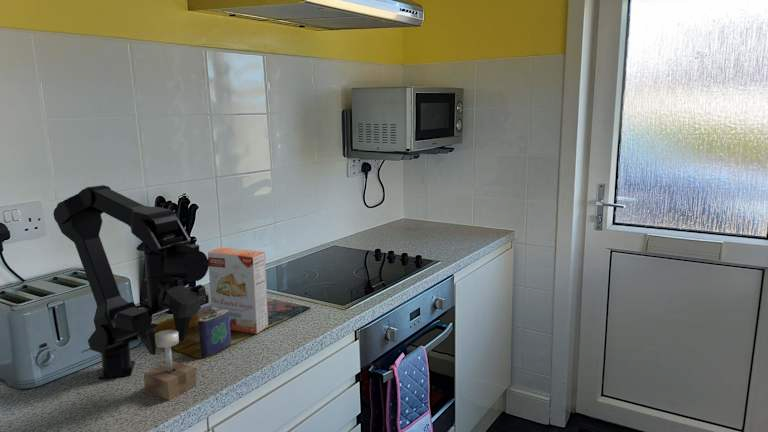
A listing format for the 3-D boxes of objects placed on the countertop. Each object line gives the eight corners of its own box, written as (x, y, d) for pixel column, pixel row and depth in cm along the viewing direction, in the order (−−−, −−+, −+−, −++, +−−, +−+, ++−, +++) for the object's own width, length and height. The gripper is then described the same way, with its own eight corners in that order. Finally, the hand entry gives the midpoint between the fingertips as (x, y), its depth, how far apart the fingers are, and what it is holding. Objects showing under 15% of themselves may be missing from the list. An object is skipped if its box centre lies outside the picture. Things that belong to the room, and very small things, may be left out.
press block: (145, 392, 113) (143, 374, 113) (173, 378, 119) (171, 360, 119) (169, 400, 110) (167, 381, 109) (196, 385, 116) (195, 367, 115)
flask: (225, 342, 138) (223, 301, 136) (235, 344, 137) (232, 303, 135) (197, 356, 130) (194, 313, 128) (207, 359, 129) (204, 315, 127)
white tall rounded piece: (153, 373, 113) (150, 335, 112) (170, 365, 117) (167, 328, 115) (168, 378, 111) (165, 339, 110) (185, 369, 115) (182, 332, 113)
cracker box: (211, 328, 147) (206, 251, 143) (225, 320, 152) (221, 246, 149) (256, 335, 142) (252, 256, 138) (269, 327, 147) (265, 250, 144)
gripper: (149, 293, 98) (156, 375, 101) (225, 267, 114) (230, 338, 117) (108, 284, 104) (116, 362, 106) (187, 260, 120) (192, 329, 123)
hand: (167, 347), depth 113 cm, fingers open, 7 cm apart
